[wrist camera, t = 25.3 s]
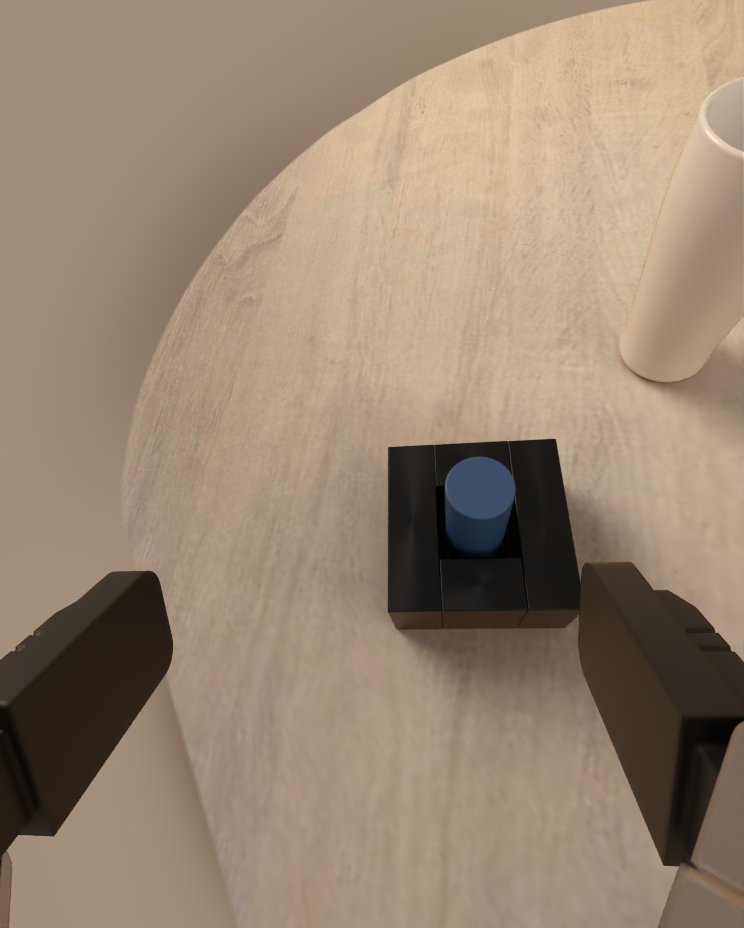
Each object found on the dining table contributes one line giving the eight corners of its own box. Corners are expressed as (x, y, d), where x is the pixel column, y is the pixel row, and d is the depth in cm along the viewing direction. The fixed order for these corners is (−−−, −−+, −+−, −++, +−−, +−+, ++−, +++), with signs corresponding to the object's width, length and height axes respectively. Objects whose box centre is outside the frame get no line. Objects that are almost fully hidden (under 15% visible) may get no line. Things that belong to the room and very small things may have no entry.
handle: (434, 556, 30) (430, 496, 23) (463, 514, 31) (467, 443, 23) (482, 586, 29) (493, 533, 21) (510, 541, 30) (530, 476, 22)
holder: (396, 629, 28) (387, 612, 24) (395, 482, 32) (388, 446, 29) (566, 628, 27) (585, 609, 23) (542, 475, 31) (556, 438, 27)
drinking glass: (594, 319, 36) (677, 81, 23) (697, 309, 35) (844, 57, 22) (617, 400, 33) (728, 178, 20) (731, 391, 32) (924, 153, 19)
